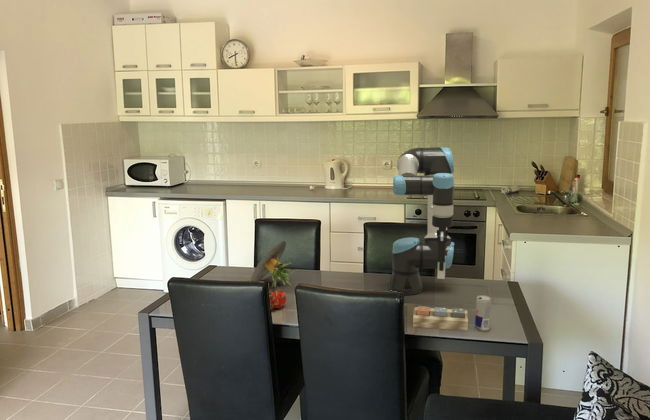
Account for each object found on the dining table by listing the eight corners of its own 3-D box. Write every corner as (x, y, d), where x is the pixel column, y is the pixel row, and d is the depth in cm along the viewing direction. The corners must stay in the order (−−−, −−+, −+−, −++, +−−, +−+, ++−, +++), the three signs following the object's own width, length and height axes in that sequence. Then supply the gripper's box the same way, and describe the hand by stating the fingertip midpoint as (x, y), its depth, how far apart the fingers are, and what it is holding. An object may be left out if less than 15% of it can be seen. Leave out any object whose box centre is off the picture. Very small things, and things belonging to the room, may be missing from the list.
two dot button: (451, 318, 202) (452, 312, 202) (451, 314, 207) (452, 307, 206) (464, 319, 201) (464, 312, 201) (463, 315, 206) (464, 308, 205)
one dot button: (416, 316, 205) (416, 309, 205) (417, 312, 210) (417, 305, 209) (428, 317, 204) (429, 310, 204) (429, 312, 209) (429, 306, 208)
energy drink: (475, 324, 204) (476, 294, 201) (490, 326, 202) (491, 295, 200) (474, 330, 199) (475, 299, 196) (490, 331, 197) (491, 300, 195)
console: (412, 326, 203) (413, 317, 202) (414, 315, 214) (414, 307, 213) (467, 330, 199) (467, 321, 198) (466, 318, 209) (467, 310, 208)
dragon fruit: (265, 316, 220) (283, 310, 231) (279, 307, 216) (296, 302, 226) (256, 297, 223) (274, 292, 233) (270, 288, 219) (288, 284, 229)
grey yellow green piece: (259, 309, 242) (292, 273, 233) (235, 280, 247) (266, 244, 238) (286, 298, 264) (317, 264, 256) (264, 271, 269) (293, 237, 261)
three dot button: (434, 317, 204) (434, 311, 203) (434, 313, 208) (434, 306, 208) (446, 318, 203) (446, 311, 202) (446, 314, 207) (446, 307, 207)
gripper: (433, 210, 208) (432, 267, 212) (431, 220, 189) (430, 283, 194) (453, 210, 206) (451, 268, 211) (453, 221, 188) (451, 284, 192)
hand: (441, 275), depth 202 cm, fingers open, 6 cm apart
